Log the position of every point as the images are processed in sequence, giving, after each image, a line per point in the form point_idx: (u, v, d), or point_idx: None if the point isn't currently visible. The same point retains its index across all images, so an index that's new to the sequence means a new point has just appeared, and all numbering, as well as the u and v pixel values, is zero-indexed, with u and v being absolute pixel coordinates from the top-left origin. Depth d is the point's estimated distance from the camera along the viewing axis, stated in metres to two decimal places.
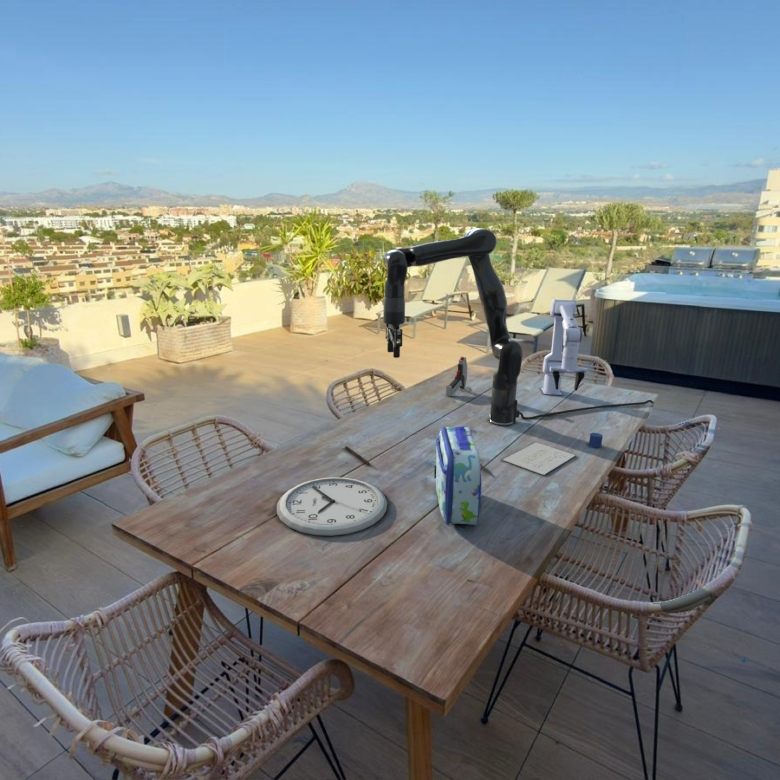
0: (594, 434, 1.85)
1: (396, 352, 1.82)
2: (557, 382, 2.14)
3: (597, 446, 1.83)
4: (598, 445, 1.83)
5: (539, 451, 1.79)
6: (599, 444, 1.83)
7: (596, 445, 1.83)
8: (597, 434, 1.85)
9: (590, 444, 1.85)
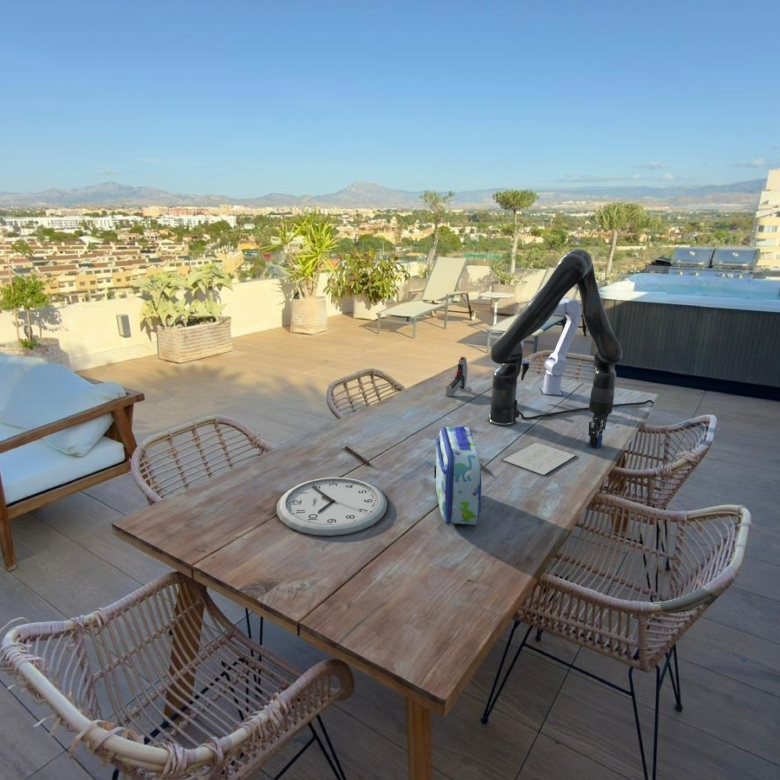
0: None
1: (591, 441, 1.82)
2: None
3: (597, 446, 1.83)
4: (598, 445, 1.83)
5: (539, 451, 1.79)
6: (599, 444, 1.83)
7: None
8: None
9: None
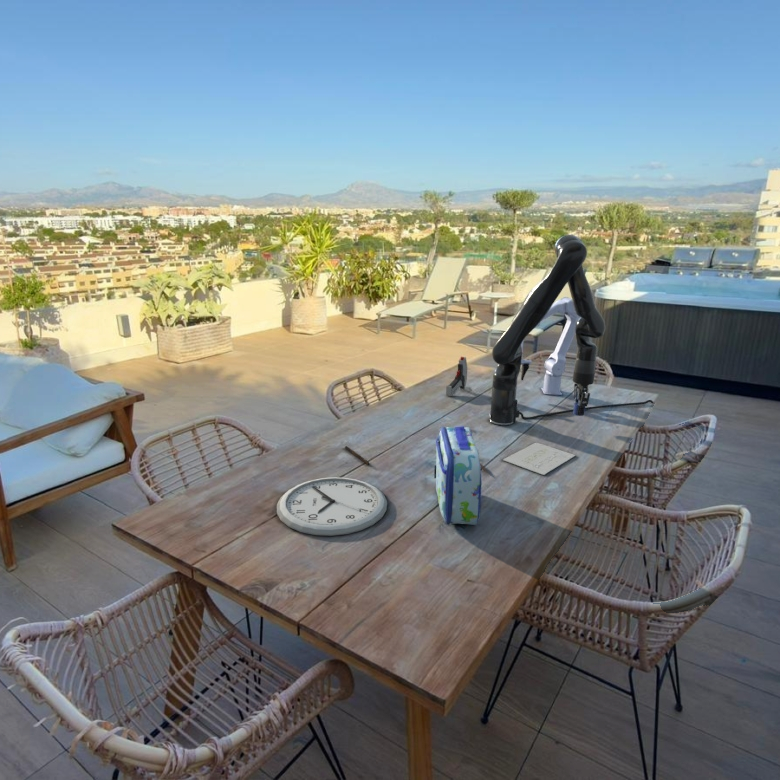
0: None
1: (580, 411, 1.99)
2: None
3: None
4: None
5: (539, 451, 1.79)
6: (584, 411, 2.01)
7: None
8: None
9: None
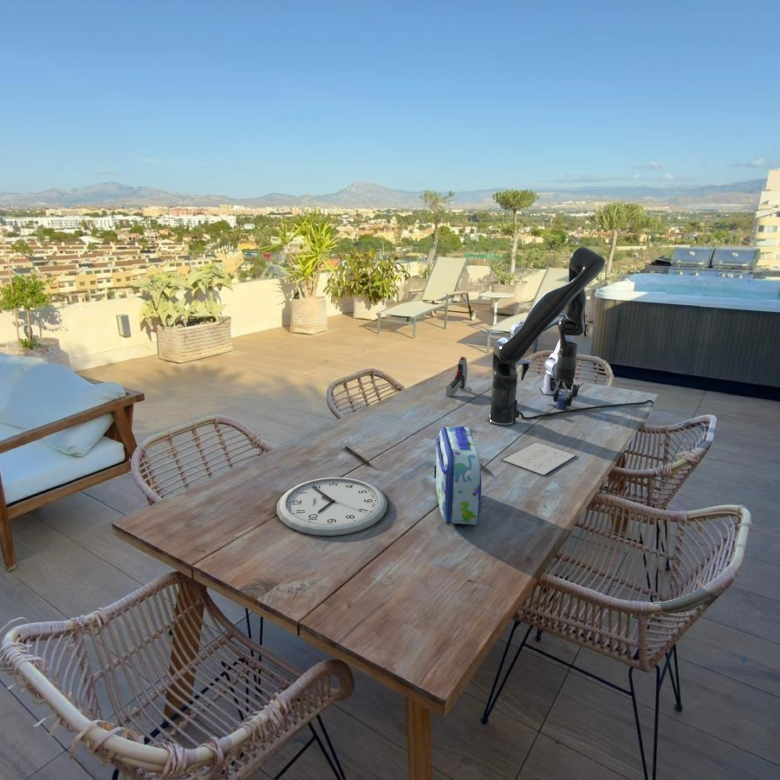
0: (561, 399, 2.22)
1: (570, 402, 2.19)
2: None
3: (566, 407, 2.23)
4: None
5: (539, 451, 1.79)
6: None
7: (566, 406, 2.23)
8: (561, 398, 2.23)
9: (562, 408, 2.22)
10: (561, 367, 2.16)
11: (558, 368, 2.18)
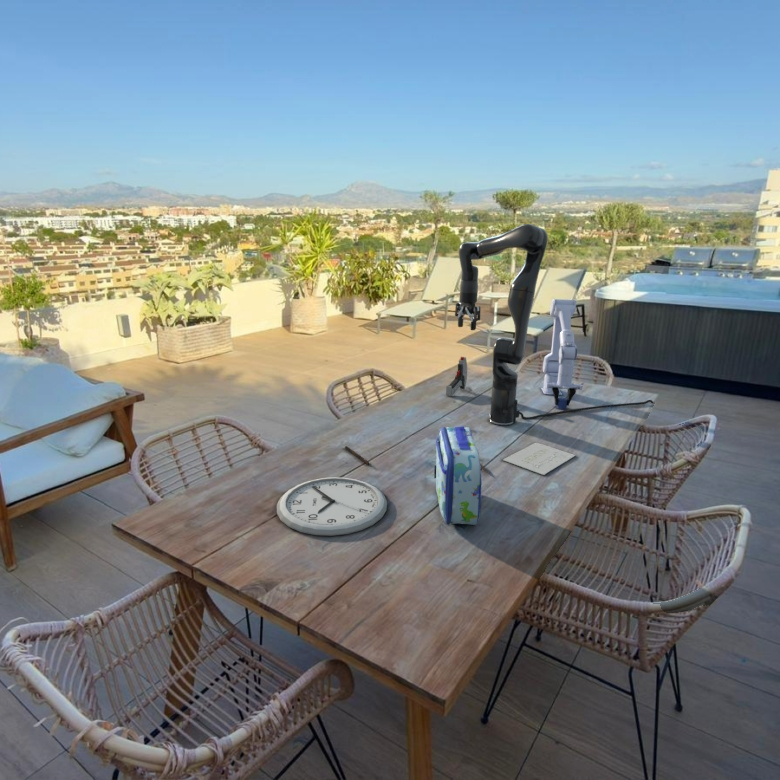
0: (561, 399, 2.22)
1: (474, 325, 2.23)
2: (557, 398, 2.21)
3: (566, 407, 2.23)
4: None
5: (539, 451, 1.79)
6: None
7: (566, 406, 2.23)
8: (561, 398, 2.23)
9: (562, 408, 2.22)
10: (463, 291, 2.21)
11: (460, 293, 2.23)
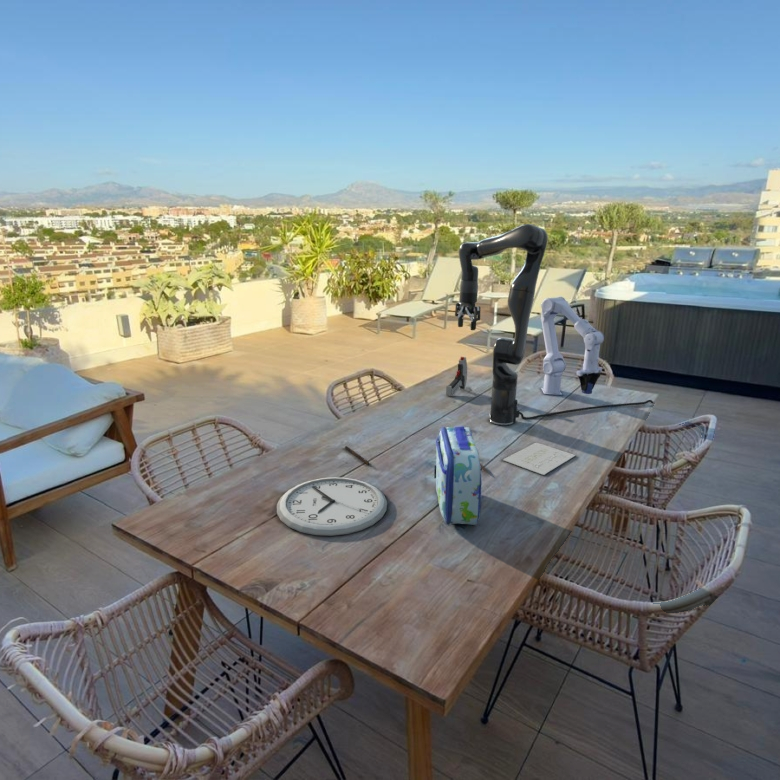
0: (588, 384, 2.27)
1: (474, 325, 2.23)
2: (587, 384, 2.25)
3: None
4: None
5: (539, 451, 1.79)
6: None
7: None
8: None
9: (591, 392, 2.28)
10: (463, 291, 2.21)
11: (460, 293, 2.23)
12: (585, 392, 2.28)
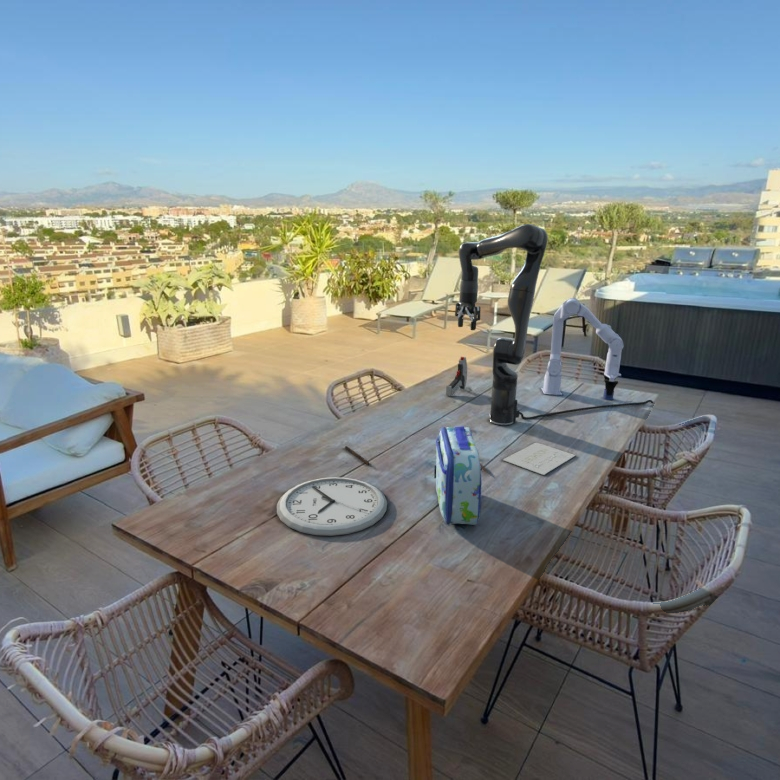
0: None
1: (474, 325, 2.23)
2: None
3: None
4: None
5: (539, 451, 1.79)
6: None
7: None
8: None
9: (612, 397, 2.37)
10: (463, 291, 2.21)
11: (460, 293, 2.23)
12: (610, 398, 2.35)
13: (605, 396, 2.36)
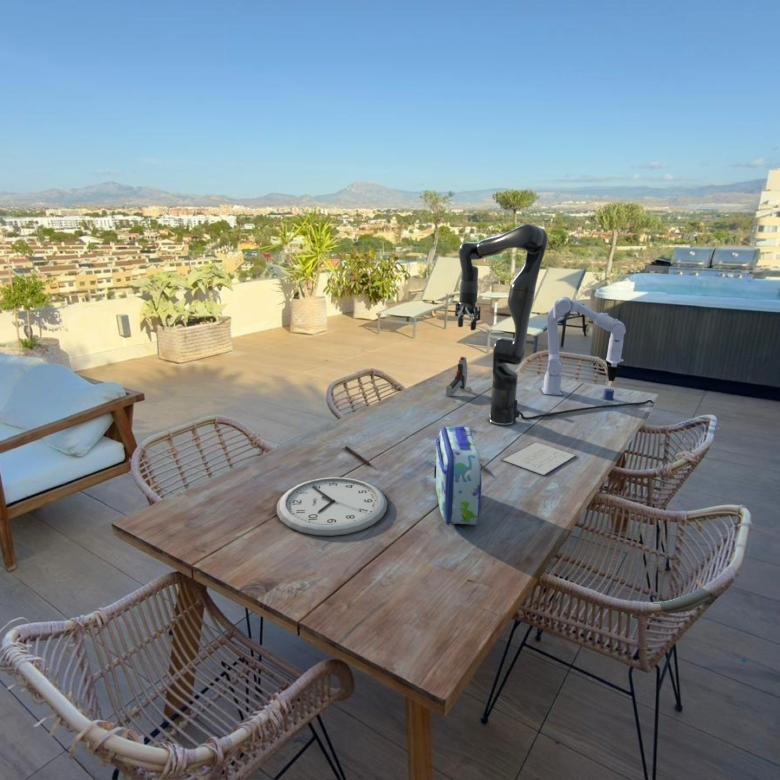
0: (610, 390, 2.36)
1: (474, 325, 2.23)
2: None
3: None
4: None
5: (539, 451, 1.79)
6: None
7: None
8: (608, 389, 2.36)
9: (612, 397, 2.37)
10: (463, 291, 2.21)
11: (460, 293, 2.23)
12: (610, 398, 2.35)
13: (605, 396, 2.36)
